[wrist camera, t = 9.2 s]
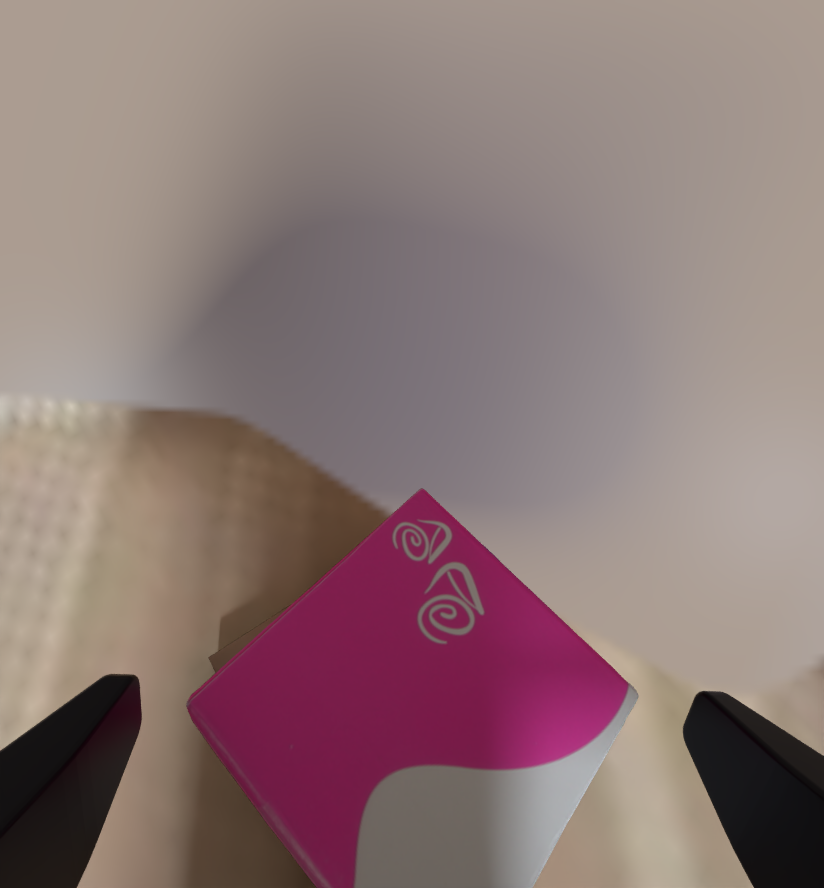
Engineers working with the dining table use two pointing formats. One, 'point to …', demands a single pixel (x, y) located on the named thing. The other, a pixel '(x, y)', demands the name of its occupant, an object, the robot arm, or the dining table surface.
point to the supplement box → (415, 715)
